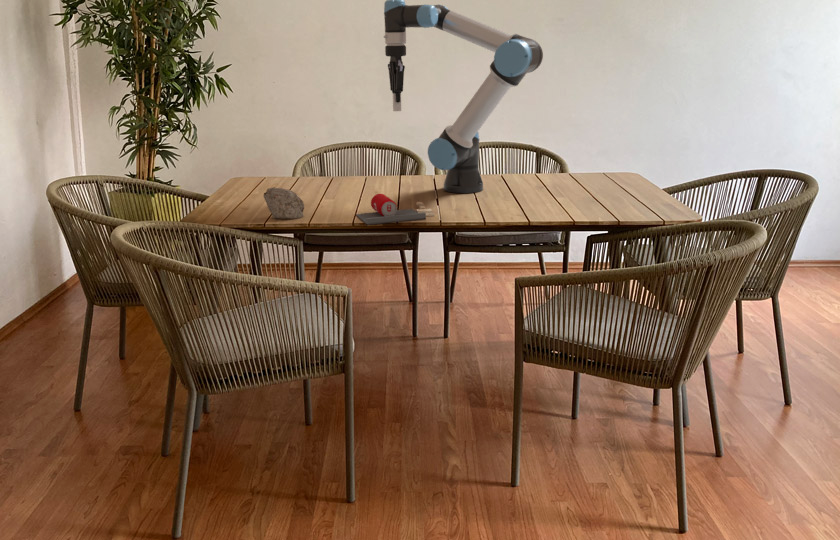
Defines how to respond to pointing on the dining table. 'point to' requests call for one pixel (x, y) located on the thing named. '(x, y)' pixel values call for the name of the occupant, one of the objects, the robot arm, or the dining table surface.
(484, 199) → the dining table surface
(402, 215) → the mat
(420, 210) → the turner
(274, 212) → the rock
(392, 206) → the beverage can
